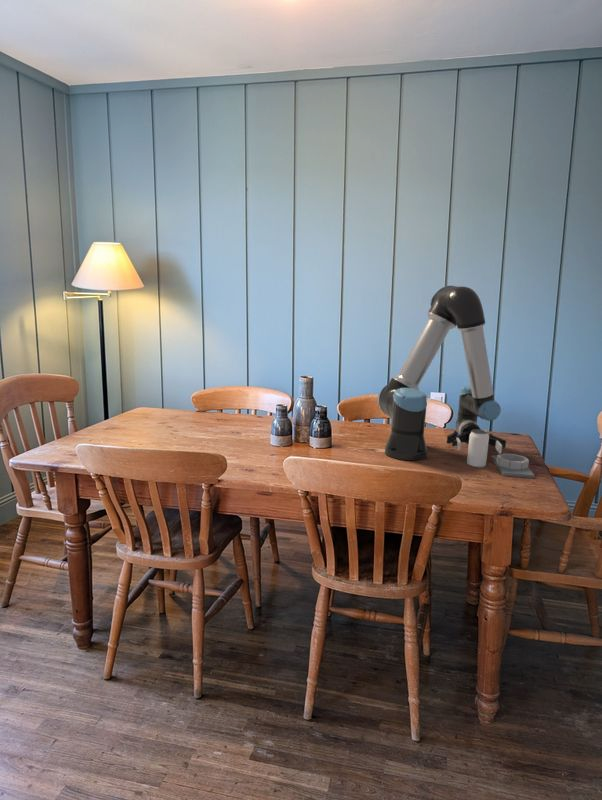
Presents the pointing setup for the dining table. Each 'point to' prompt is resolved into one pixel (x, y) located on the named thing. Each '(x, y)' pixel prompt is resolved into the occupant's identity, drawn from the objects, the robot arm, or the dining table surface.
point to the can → (477, 448)
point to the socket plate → (513, 465)
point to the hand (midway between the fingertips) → (480, 447)
